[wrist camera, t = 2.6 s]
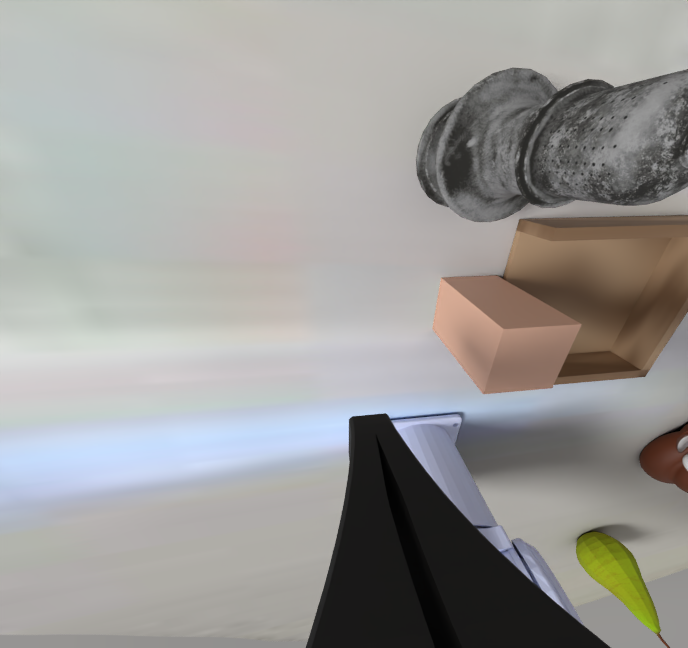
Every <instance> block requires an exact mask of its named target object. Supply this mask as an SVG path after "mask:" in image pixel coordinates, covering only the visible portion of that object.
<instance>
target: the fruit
mask: <svg viewBox="0 0 688 648" xmlns="http://www.w3.org/2000/svg"><path fill="white" fill-rule="evenodd" d="M576 554H577V558H578V560H579V562H580V564H581V565H582V567H583V568H584V569H585V571H586V572H587V573H588V574H589V575H590V576H591V577H592V578H593V579H594V580H596V581H597V582H598V583H600V584H601V585H602V586H604V587H605V588H606V589H608V590H609V591H610V592H611V593H613V594H614V595H615V596H616V597H617V598H618V599H619V600H621V601H622V602H623V603H624V604H625V605H626V606H627V608H628V609H629V610H630V611H631V612H632V613H633V614H634V615H635V616H636V617H637V618H638V619H639V620H640V621H641V622H642V623H643V624H644V625H645V626H647V627H648V628H650V629H651V630H652V631H653V632H654V633H656V634H657V636H658V637H659V638H660V639H661V641H662V642H663V643H664V644H665V645H666V646H667V648H670V647H669V646H668V645H667V643H666V642H665V641H664V640H663V639H662V637H661V635H660V634H659V633H660V631H661V629H660V626H659V620H658V616H657V613H656V609H655V607H654V604H653V601H652V599H651V597H650V594H649V592H648V590H647V588H646V585H645V583H644V581H643V579H642V576H641V573H640V570H639V567H638V565H637V562H636V560H635V558H634V556H633V555H632V553H631V552H630V551H629V550H628V549H627V548H626V547H625V546H624V545H623V544H622V543H620V542H619V541H618V540H616V539H614V538H612V537H610V536H608V535H606V534H603V533H599V532H595V531H593V532H589V533H586V534H584V535H582V536H581V537H580V538H579V539H578V540H577V546H576Z"/></svg>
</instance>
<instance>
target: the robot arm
mask: <svg viewBox="0 0 688 648" xmlns="http://www.w3.org/2000/svg"><path fill="white" fill-rule="evenodd" d="M461 421H462V418H461V417H460V415H458V414H453V415H442V416H432V417H421V418H411V419H401V420H390V418H389V416H388V415H387V414H375V415H365V416H354V417H351V418H350V419H349V459H350V464H349V474H348V481H347V487H346V493H345V499H344V505H343V510H342V515H341V520H340V525H339V529H338V534H337V538H336V543H335V547H334V551H333V555H332V559H331V563H330V567H329V571H328V574H327V578H326V582H325V585H324V589H323V592H322V596H321V599H320V602H319V606H318V609H317V613H316V616H315V619H314V623H313V626H312V630H311V633H310V636H309V639H308V642H307V646H306V648H610V647H609V646H608V645H607V644H606V643H604V642H603V641H602V640H601V639H600V638H598V637H597V636H596V635H595V634H593V633H592V632H591V631H589V630H588V629H587V628H586V627H585V626H584V625H583V623H582V621H581V620H580V618H579V616H578V614H577V612H576V611H575V609H574V607H573V605H572V604H571V602H570V600H569V599H568V597H567V595H566V594H565V592H564V590H563V589H562V587H561V585H560V584H559V582H558V580H557V579H556V577H555V576H554V574H553V573H552V571H551V569H550V568H549V566H548V565H547V563H546V562H545V560H544V559H543V558H542V556H541V555H540V553H539V552H538V551H537V550H536V549H535V548H534V547H533V546H531V545H530V544H528V543H526V542H524V541H523V540H522V539H520V538H516V539H513V540H511V541H512V544H511V542H510V540H509V538H508V536H507V534H506V533H505V531H504V529H503V527H502V526H501V525H499V526H498V525H497V523H496V521H495V519H494V517H493V515H492V513H491V512H490V510H489V508H488V506H487V504H486V502H485V500H484V498H483V497H482V495H481V493H480V491H479V489H478V487H477V485H476V484H475V482H474V480H473V478H472V476H471V474H470V472H469V470H468V469H467V467H466V465H465V463H464V461H463V459H462V457H461V455H460V454H459V452H458V450H457V448H456V446H455V443H456V439H457V436H458V432H459V428H460V425H461ZM512 545H513V546H512ZM513 547H514V548H513Z"/></svg>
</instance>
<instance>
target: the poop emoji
mask: <svg viewBox="0 0 688 648" xmlns="http://www.w3.org/2000/svg"><path fill="white" fill-rule="evenodd" d="M640 465H641V467H642V468H643V470H644V471H645V472H646V473H647V474H648V475H649V476H651V477H652V478H654V479H656V480H658V481H661V482H665V483H671V484H676V485H677V486H678V487H679V488H680V489H682V490H683V491H685V492H687V493H688V424H686V425H685V426H684V427H683V428H682V429H681V430H680V431H678V432H673V433H669V434H666V435H663V436H661V437H658V438H656V439H655V440H653V441H652V442H650V443H649V444H648V445H647V446H646V447H645V448H644V449H643V451H642V452H641V455H640Z"/></svg>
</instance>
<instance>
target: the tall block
mask: <svg viewBox="0 0 688 648" xmlns="http://www.w3.org/2000/svg"><path fill="white" fill-rule="evenodd" d="M581 325H582V324H581V323H579V322H577V321H575V320H574V319H572V318H570V317H568V316H567V315H565V314H563V313H561V312H560V311H558V310H556V309H554V308H553V307H551V306H549V305H547V304H546V303H544V302H542V301H540V300H539V299H537V298H535V297H533V296H532V295H530V294H528V293H526V292H525V291H523V290H521V289H519V288H518V287H516V286H514V285H512V284H511V283H509V282H507V281H506V280H504V279H502V278H500V277H499V276H497V275H494V276H471V277H448V278H441V282H440V288H439V294H438V299H437V305H436V311H435V317H434V323H433V328H432V329H433V330H434V331H435V333H436V334H437V335H438V337H439V338H440V339H441V340H442V342H443V343H444V344H445V346H446V347H447V348H448V349H449V351H450V352H451V353H452V355H453V356H454V357H455V358H456V360H457V361H458V362H459V364H460V365H461V366H462V367H463V369H464V370H465V371H466V373H467V374H468V375H469V376H470V378H471V379H472V380H473V382H474V383H475V384H476V385H477V387H478V388H479V389H480V391H481V392H482V393H483V394H490V393H502V392H513V391H524V390H535V389H547V388H552V387H553V385H554V383H555V381H556V379H557V377H558V374H559V372H560V370H561V368H562V366H563V364H564V361H565V359H566V357H567V355H568V353H569V351H570V349H571V346H572V344H573V342H574V340H575V338H576V336H577V333H578V331H579V329H580V327H581Z"/></svg>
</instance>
